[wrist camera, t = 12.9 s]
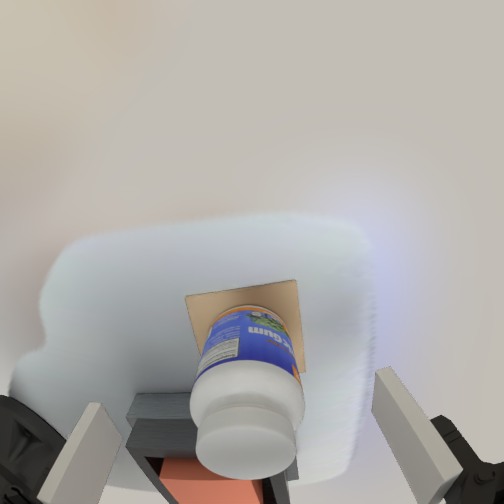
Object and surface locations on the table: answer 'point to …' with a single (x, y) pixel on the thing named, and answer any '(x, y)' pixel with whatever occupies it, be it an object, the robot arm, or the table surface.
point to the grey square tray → (180, 442)
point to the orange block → (206, 484)
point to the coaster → (267, 296)
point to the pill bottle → (247, 395)
